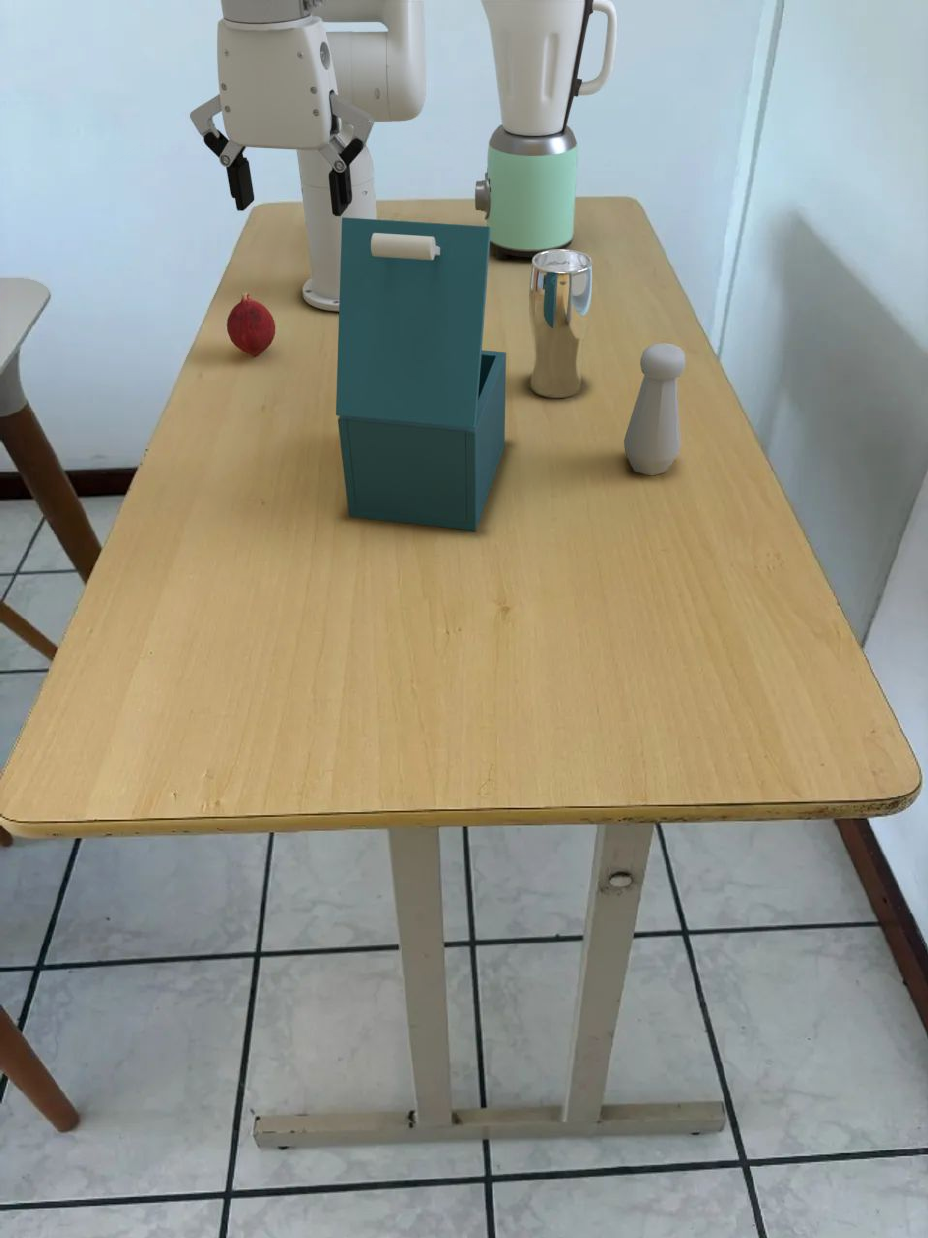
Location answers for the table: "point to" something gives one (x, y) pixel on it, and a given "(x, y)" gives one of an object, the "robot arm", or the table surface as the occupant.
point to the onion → (250, 326)
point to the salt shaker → (656, 411)
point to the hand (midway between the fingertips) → (293, 208)
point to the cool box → (427, 461)
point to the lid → (411, 320)
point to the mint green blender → (537, 120)
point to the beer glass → (559, 319)
